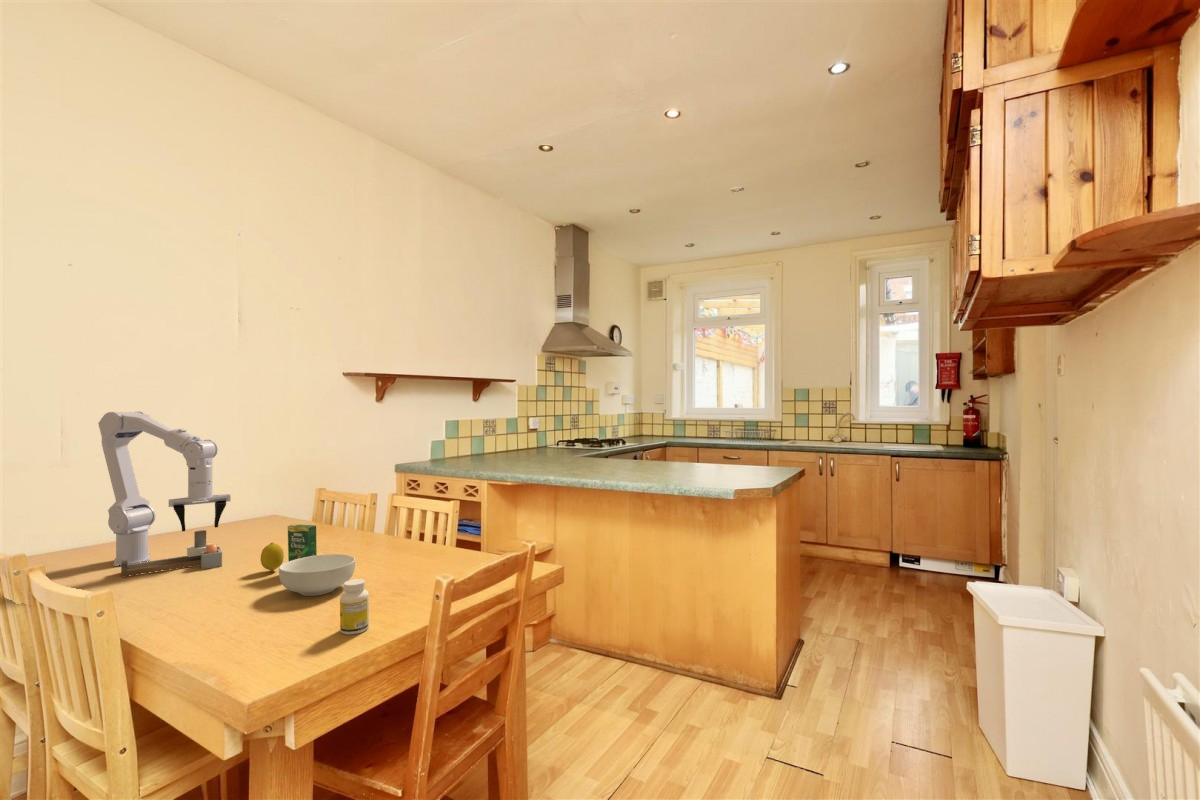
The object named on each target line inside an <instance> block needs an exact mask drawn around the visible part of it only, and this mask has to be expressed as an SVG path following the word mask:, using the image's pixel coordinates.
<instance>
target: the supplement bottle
mask: <svg viewBox="0 0 1200 800" xmlns="http://www.w3.org/2000/svg"><path fill="white" fill-rule="evenodd" d="M365 588H366V581H365V579H364V578H363V579H362V578H355V579H349V580H348V581H346V582H344V584H343V591H344V592H343V593H342V594H340V597H339V619H340V621H339V622H340V623H339V626H340V627H339V628H340V629H339V630H340V633H342V635H346V636H347V635H348V636H350V635H357V634H361V633H364V632H366V631H367V630H368V629H369V627H370V594H369V591H368V590H366V589H365Z"/></svg>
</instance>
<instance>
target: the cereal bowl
mask: <svg viewBox="0 0 1200 800" xmlns="http://www.w3.org/2000/svg"><path fill="white" fill-rule="evenodd" d="M355 567H356V558H355V556H352V555H349V554H343V553H342V554H341V553H332V554H330V553H328V554H327V553H326V554H318V555H316V556H309V557H304V558H299V559H295V560H292V561H289V560H288V561H287V562H284V563H282V564H281V565H280V566H279V567H278V577H279V578H278V579H279V581H280V584H281V585H282V586H283V587H284V588H285V589H286V590H288V591H291V592H294V593H299V594H300V595H301V596H306V597H314V596H322V595H326V594H329V593H332V592H334V591H335V590H336V589H337V588H339V587H341V586H344V582H346V581H349V580H351V578H352V577H353V575H354V572H355Z"/></svg>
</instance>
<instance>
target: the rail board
mask: <svg viewBox="0 0 1200 800" xmlns="http://www.w3.org/2000/svg"><path fill="white" fill-rule="evenodd" d="M217 549H221V548H220V546H217ZM197 565H200V566H201V555H199V556H192V557H188V555H184V556H177V557H176V556H175V557H171V558H170V557H169V558H163V559H156V560H150V561H148V562H141V563H134V564H128V559H126V560H122V562H121V565H120V578H121V577H122V578H124V577H123V576H129V575H135V576H137V575H136V574H141V573H148V574H150V573H149V572H155V571H161V570H168V571H170V570H169V569H174V570H177V569H176V568H181V569H184V568H183V567H187V568H190V567H189V566H194V567H198V566H197ZM161 572H162V571H161ZM155 573H156V572H155ZM129 577H130V576H129Z"/></svg>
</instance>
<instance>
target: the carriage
mask: <svg viewBox="0 0 1200 800" xmlns="http://www.w3.org/2000/svg"><path fill="white" fill-rule="evenodd" d="M193 537H194V538H193V539H194V545H190V546H189V545H188V546H186V554H187V555H186V556H188V557H192V556H199V555H201V552H203V551H206V545H209V544H213V543H212V542H210V543H207V530H206V529H202V530H196V531H194V535H193Z"/></svg>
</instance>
